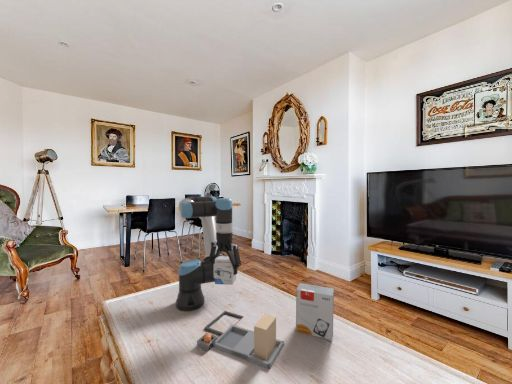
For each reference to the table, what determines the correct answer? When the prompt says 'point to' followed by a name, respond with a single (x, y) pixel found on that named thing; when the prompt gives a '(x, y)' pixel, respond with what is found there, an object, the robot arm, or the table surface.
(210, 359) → the table surface
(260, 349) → the billet
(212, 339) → the housing
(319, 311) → the hard drive box
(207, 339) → the brown egg
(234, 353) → the grey rectangular tray
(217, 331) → the frame
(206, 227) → the robot arm
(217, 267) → the ink box
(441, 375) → the table surface
